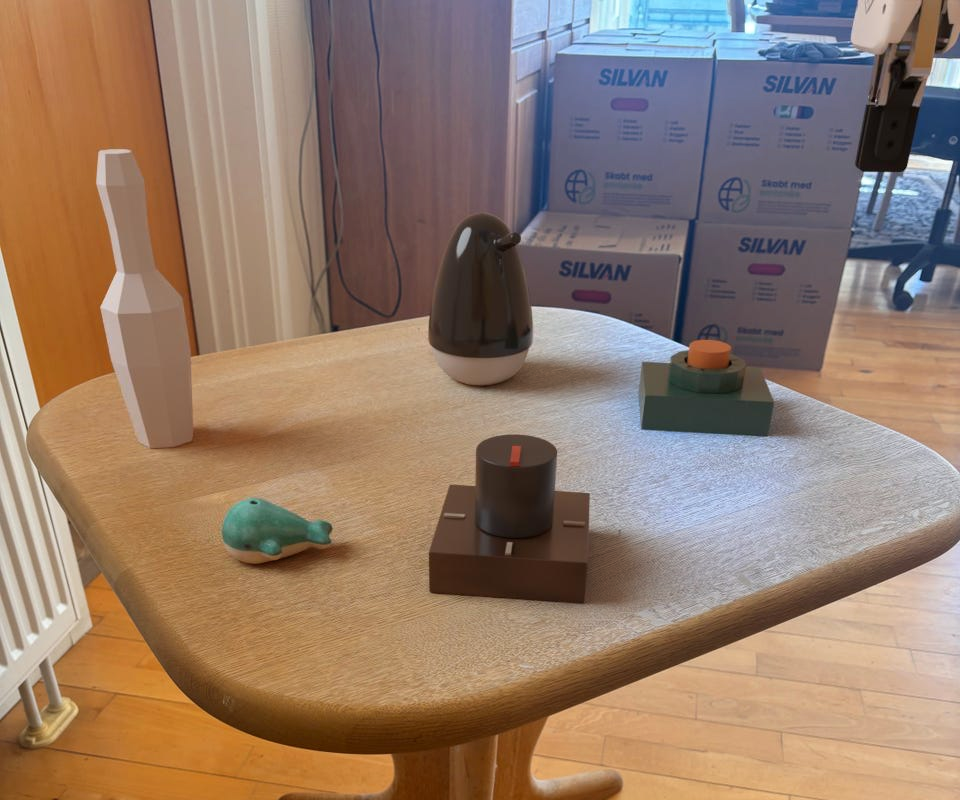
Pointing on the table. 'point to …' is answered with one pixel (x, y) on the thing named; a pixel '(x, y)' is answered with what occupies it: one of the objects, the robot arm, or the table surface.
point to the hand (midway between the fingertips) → (879, 169)
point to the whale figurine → (270, 532)
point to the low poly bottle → (143, 313)
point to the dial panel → (511, 553)
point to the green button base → (704, 398)
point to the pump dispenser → (481, 304)
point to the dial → (515, 485)
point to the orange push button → (709, 354)
